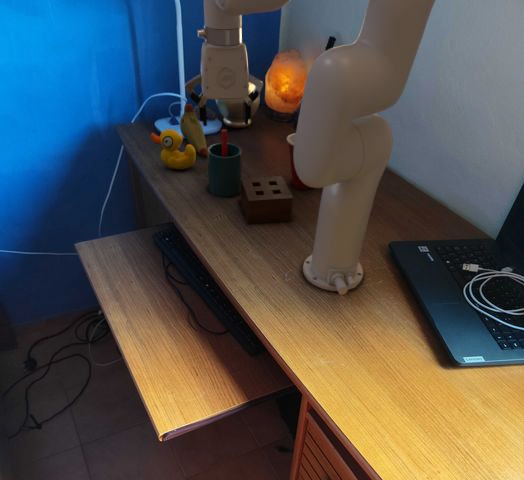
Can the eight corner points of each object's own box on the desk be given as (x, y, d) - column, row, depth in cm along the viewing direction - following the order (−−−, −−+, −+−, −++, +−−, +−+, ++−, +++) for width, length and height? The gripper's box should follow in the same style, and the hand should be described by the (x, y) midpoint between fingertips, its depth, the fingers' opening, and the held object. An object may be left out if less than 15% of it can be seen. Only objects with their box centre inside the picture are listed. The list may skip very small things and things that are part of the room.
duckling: (152, 170, 125) (147, 132, 117) (157, 161, 128) (152, 124, 121) (194, 174, 125) (192, 136, 117) (198, 164, 128) (195, 127, 121)
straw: (227, 186, 120) (227, 131, 109) (222, 187, 119) (222, 131, 109) (227, 184, 120) (226, 129, 110) (222, 184, 120) (221, 129, 110)
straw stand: (290, 220, 111) (293, 197, 107) (248, 223, 109) (248, 200, 105) (280, 198, 118) (282, 176, 114) (240, 201, 116) (240, 178, 112)
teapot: (264, 131, 145) (267, 73, 133) (223, 135, 142) (222, 75, 130) (247, 109, 157) (248, 54, 145) (208, 112, 153) (206, 56, 141)
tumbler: (244, 195, 118) (244, 156, 111) (211, 197, 117) (209, 158, 109) (238, 179, 124) (238, 142, 116) (206, 181, 122) (205, 143, 115)
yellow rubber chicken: (215, 159, 131) (214, 122, 124) (196, 161, 129) (194, 124, 122) (192, 130, 143) (190, 95, 136) (175, 133, 142) (172, 97, 134)
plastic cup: (323, 176, 127) (330, 131, 118) (323, 195, 120) (330, 149, 111) (284, 172, 128) (288, 127, 119) (281, 191, 120) (285, 145, 111)
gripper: (182, 41, 91) (189, 131, 104) (268, 40, 94) (265, 127, 107) (179, 32, 96) (186, 118, 109) (260, 31, 99) (258, 115, 112)
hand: (225, 122), depth 108 cm, fingers open, 9 cm apart
